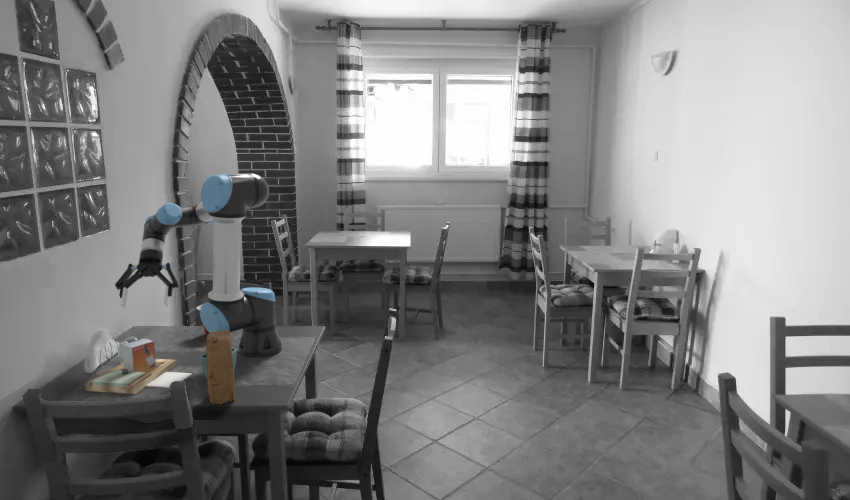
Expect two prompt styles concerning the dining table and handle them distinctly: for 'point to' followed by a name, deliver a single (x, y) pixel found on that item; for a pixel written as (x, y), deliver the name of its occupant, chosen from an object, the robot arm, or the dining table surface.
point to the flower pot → (204, 361)
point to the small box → (139, 356)
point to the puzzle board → (128, 378)
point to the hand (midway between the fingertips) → (144, 305)
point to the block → (220, 367)
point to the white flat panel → (168, 379)
